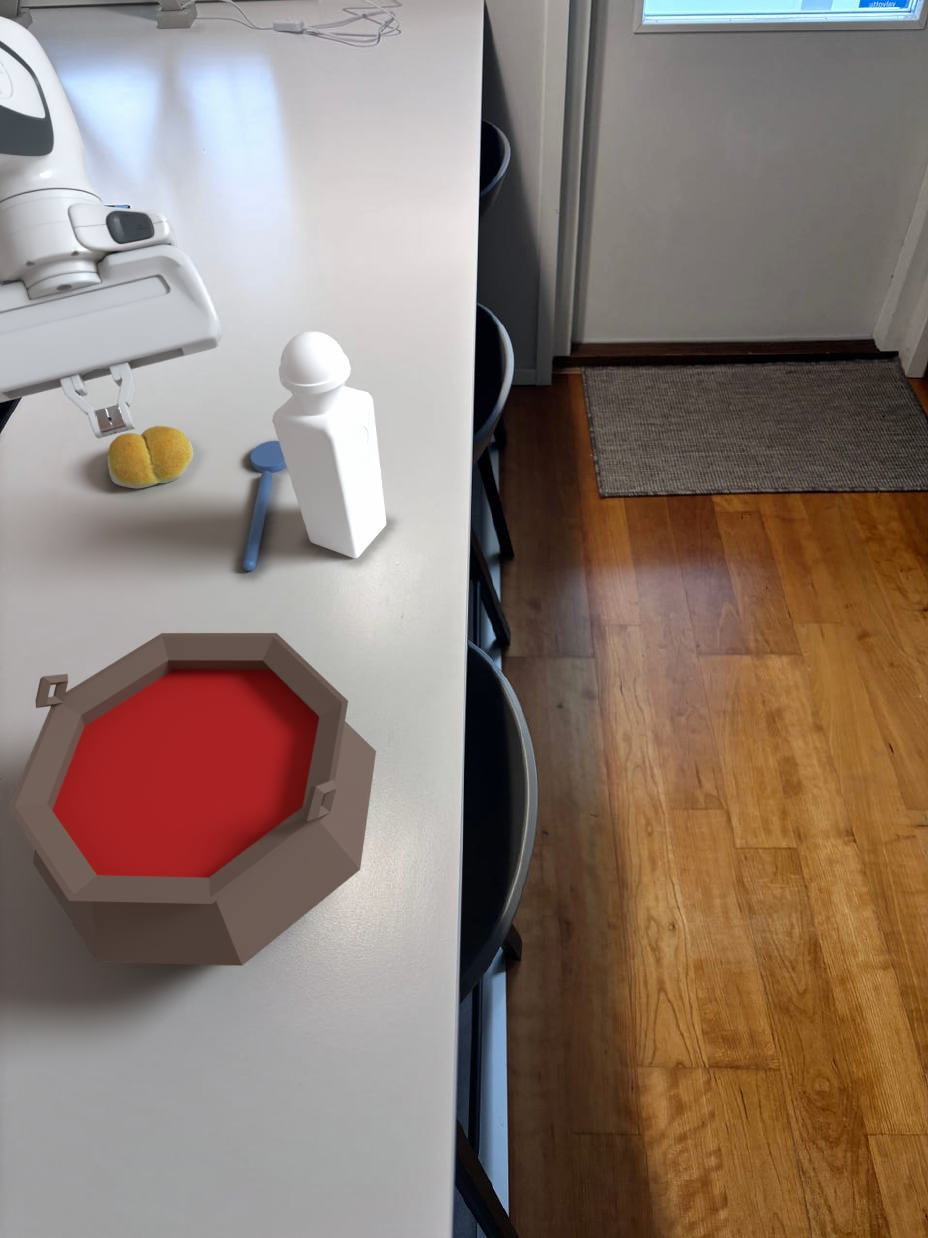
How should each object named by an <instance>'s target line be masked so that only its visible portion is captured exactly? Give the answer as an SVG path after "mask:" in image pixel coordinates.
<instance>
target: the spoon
mask: <svg viewBox="0 0 928 1238" xmlns="http://www.w3.org/2000/svg"><path fill="white" fill-rule="evenodd" d="M249 458H250V462H251V465H252V467H253V468H254V469H255V470H256V471H257V472H260V473H261V475H260V480H259V484H258V489H257V495H256V499H255V503H254V508H253V513H252V519H251V523H250V528H249V533H248V538H247V544H246V548H245V552H244V557H243V558H244V559H243V563H242V567H243V569H244V570H245V571H247V572H252V571H254V570H255V569H256V567H257V562H258V557H259V552H260V546H261V542H262V537H263V530H264V525H265V521H266V515H267V510H268V506H269V499H270V494H271V489H272V483H273V480H274V479H273V478H274V476H273V473H278V472H281V471H283V470H285V469H287V465H286V462H285V459H284V456H283V453H282V450H281V446H280V443H279V440H269V441H265V442H262V443H260V444H258V445H256V446H255V447H254V448H253V449H252V450H251V452H250V456H249Z"/></svg>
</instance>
